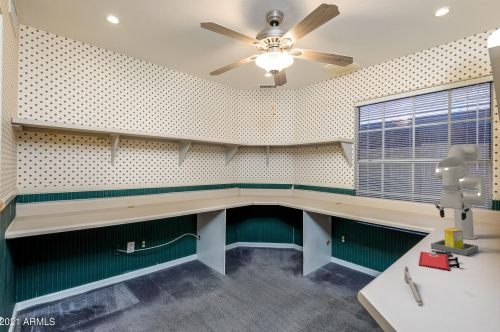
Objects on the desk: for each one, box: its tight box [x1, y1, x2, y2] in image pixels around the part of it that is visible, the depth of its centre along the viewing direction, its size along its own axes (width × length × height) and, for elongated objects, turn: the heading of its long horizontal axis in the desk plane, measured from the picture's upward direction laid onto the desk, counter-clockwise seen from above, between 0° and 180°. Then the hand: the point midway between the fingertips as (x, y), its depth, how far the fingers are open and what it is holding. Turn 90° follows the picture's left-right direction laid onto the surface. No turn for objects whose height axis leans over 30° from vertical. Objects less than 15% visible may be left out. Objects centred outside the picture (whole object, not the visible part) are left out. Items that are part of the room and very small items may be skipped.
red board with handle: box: [418, 249, 461, 272], centre depth 120 cm, size 30×3×15 cm
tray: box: [430, 238, 479, 257], centre depth 136 cm, size 16×16×3 cm
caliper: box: [403, 266, 423, 307], centre depth 88 cm, size 20×1×6 cm, turn 158°
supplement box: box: [443, 227, 464, 249], centre depth 136 cm, size 6×6×11 cm
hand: (452, 218), depth 137 cm, fingers open, 9 cm apart
